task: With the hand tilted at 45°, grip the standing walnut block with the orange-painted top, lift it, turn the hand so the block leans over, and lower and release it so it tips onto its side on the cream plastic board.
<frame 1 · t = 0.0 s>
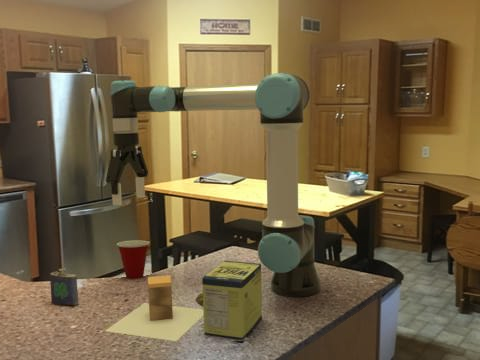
hand: (129, 201, 163), 28 cm above the kitchen counter, tool pointing down, fingers open, 13 cm apart
cream board: (159, 323, 139), on the kitchen counter
flask: (64, 304, 155), on the kitchen counter
bread roll: (219, 305, 152), on the kitchen counter
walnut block: (161, 315, 142), point 1 cm above the kitchen counter, touching cream board
protein box: (234, 329, 135), on the kitchen counter
plastic cup: (135, 276, 178), on the kitchen counter
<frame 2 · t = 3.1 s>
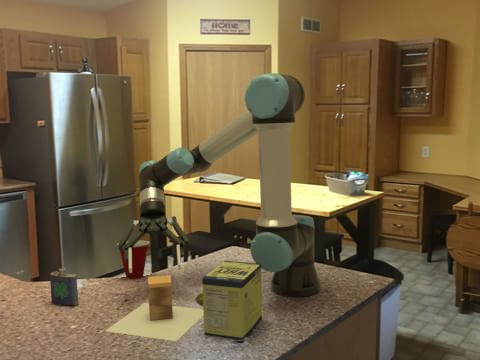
hand: (155, 268, 148), 12 cm above the kitchen counter, tool tilted 45°, fingers open, 13 cm apart
nothing on the kitchen counter moved.
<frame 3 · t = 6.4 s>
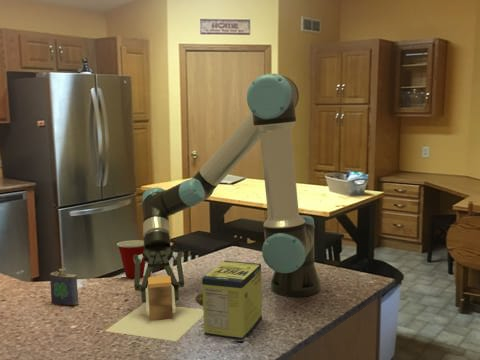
hand: (161, 312, 138), 3 cm above the kitchen counter, tool tilted 45°, fingers closed on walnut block, 6 cm apart
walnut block: (161, 315, 142), point 1 cm above the kitchen counter, touching cream board, gripper
everything else where it was.
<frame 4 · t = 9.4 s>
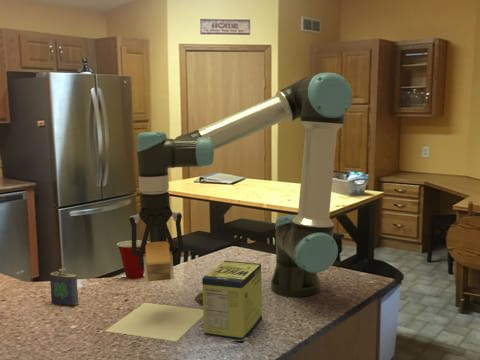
hand: (159, 278, 139), 12 cm above the kitchen counter, tool pointing down, fingers closed on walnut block, 6 cm apart
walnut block: (158, 270, 143), point 13 cm above the kitchen counter, tilted 44°, touching gripper
everything else where it was.
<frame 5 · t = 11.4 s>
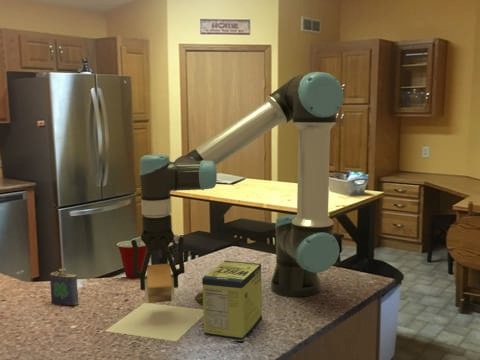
hand: (160, 300, 139), 6 cm above the kitchen counter, tool pointing down, fingers closed on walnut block, 6 cm apart
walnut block: (159, 291, 143), point 7 cm above the kitchen counter, tilted 45°, touching gripper
everything else where it was.
when the fingers open (4 cm above the kitchen counter, at t = 12.6 s): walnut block moves 2 cm and tips over, resting on cream board.
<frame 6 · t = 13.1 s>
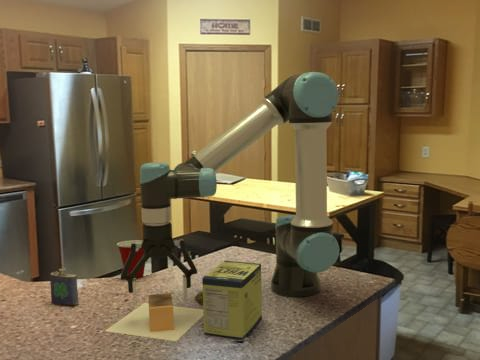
hand: (160, 301, 139), 6 cm above the kitchen counter, tool pointing down, fingers open, 12 cm apart
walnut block: (160, 304, 141), point 4 cm above the kitchen counter, tilted 90°, touching cream board
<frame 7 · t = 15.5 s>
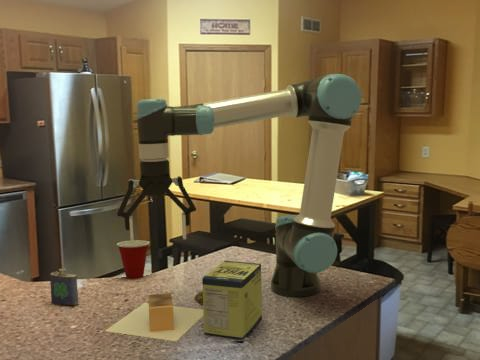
hand: (158, 240, 138), 22 cm above the kitchen counter, tool pointing down, fingers open, 13 cm apart
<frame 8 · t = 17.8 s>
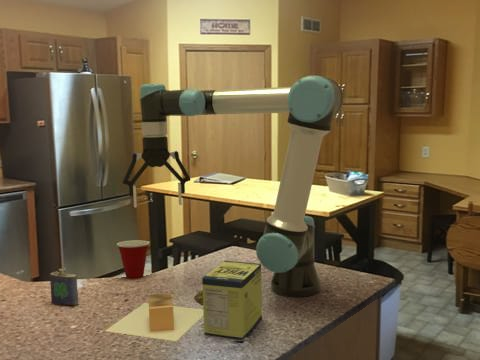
hand: (158, 205, 161), 27 cm above the kitchen counter, tool pointing down, fingers open, 13 cm apart
at the end: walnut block tilted 90°; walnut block inside the target area on the cream board (3.3 cm from its centre), point 4.0 cm above the cream board's base; the gripper is holding nothing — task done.
